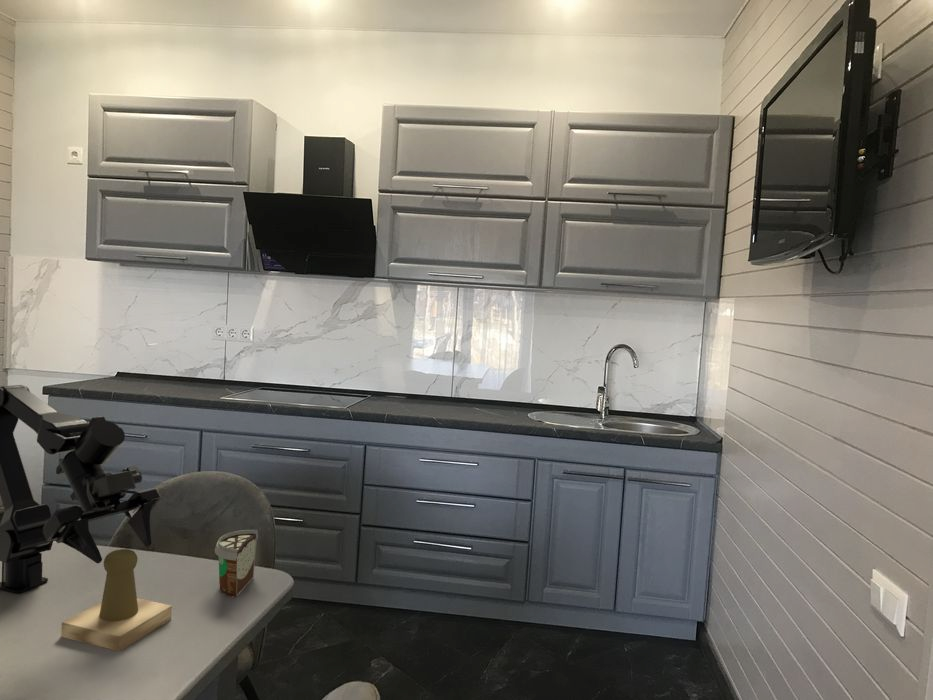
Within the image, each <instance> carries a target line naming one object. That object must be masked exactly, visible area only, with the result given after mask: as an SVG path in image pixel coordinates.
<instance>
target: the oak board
mask: <svg viewBox="0 0 933 700" xmlns="http://www.w3.org/2000/svg"><path fill="white" fill-rule="evenodd" d="M137 603H138V613H137V614H136V615H134V616H133V617H131V618H128V619H125V620H121V621H105V620H102V619H101V618H100V617H99V615H100V609H101V604H102V601H100V602H98V603H97V604H95V605H93V606H91V607H89V608H87V609H85V610H82V611H81V612H79V613H77V614H75V615H73V616H71V617H69V618H67V619H65V620H64V621H62V622H61V633H60V634H61V635H60V637H61V638H65V639H69V640H73V641H78V642H82V643H85V644H89V645H93V644H94V645H93V646H98V647H101V648H106V649H109V650H113V651H117V652H121V651H122V650H123V649H125V648H127V647H129V646H131V645H132V644H134V643H135V642H137V641H138V640H140V639H142V637H145V636H146V635H148V634H149V633H151V632H153V631H155V630H156V629H158V628H159V627H161V626H162V625H164V624H165V623H167V622H169V621H170V620H172V609H173V608H172V607H173V605H171V604H167V603H161V602H156V601H152V600H148V599H142V598H140V597H139V598H138V597H137ZM144 635H145V636H144ZM139 638H140V639H139ZM136 640H137V641H136ZM131 643H132V644H131ZM128 645H129V646H128ZM126 646H127V647H126Z"/></svg>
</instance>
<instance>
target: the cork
mask: <svg viewBox="0 0 933 700" xmlns="http://www.w3.org/2000/svg"><path fill="white" fill-rule="evenodd" d="M137 564H138V555H137V554H136V552H135V551H134V550H132V549H128V548H127V549H126V548H124V549H123V548H122V549H116V550H113V551H110V552H108V554H106V556H105V557H104V560H103V568H104V571H105V572H106V575H105V582H104V588H103V593H102V597H101V602H102V604H101V609H100V615H99V617H100V618H101V619H102V620H105V621H121V620H125V619H128V618H131V617H133V616H134V615H136V614H137V613H138V603H137V598H138V596H137V587H136V580H135V579H136V578H135V572H134V571H135V570H134V569H135V568H136V567H137Z"/></svg>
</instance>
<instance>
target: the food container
mask: <svg viewBox="0 0 933 700" xmlns="http://www.w3.org/2000/svg"><path fill="white" fill-rule="evenodd" d="M258 534H259V533H258V530H257V529H244V530H243V529H242V530H235V531H231V532H228V533H225V534H224V535H221V537H219V539H218V540H217V542H216V545H215V548H214V553H215V554H216V555H217V557H218V575H219V577H218V580H219V581H218V582H219V592H220V593H222V594H223V595H225V594H226V595H225V596H227V597H232V596H234V598H237V597H238V596H239V595H240V594H241V593H240V592H243V591H244V589H245V588H246V587H247V586H248V585H249V584H250V582H251V581H252V580H253V579H254V578H255V577H254V575H255V566H256V565H255V563H256V551H257V540H258V539H259V537H258V536H259V535H258ZM253 577H254V578H253ZM252 578H253V579H252ZM251 579H252V580H251ZM250 580H251V581H250ZM247 584H248V585H247ZM246 585H247V586H246ZM245 586H246V587H245ZM239 593H240V594H239ZM238 594H239V595H238Z"/></svg>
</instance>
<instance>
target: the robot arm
mask: <svg viewBox="0 0 933 700" xmlns="http://www.w3.org/2000/svg"><path fill="white" fill-rule="evenodd" d="M19 420H20V421H21V422H23V424H24V425H27V427H29V428H30V429H31V430H33V431H34V432H35V433H36V434H37V436H36V442H37V444H39V446H40V447H41V449H43V450H44V451H45V452H46V454H49V455H56V454H63V453H64V454H65V453H66V454H65V456H63V458H60V459H59V461H58V465H57V466H56V468H55V474H56V475H61V474H64V476H65V478H66V480H67V482H68V484H69V486H70V488H71V490H72V493H71V494H70V496H69V497H70V499H71V501H72V502H73V501H77V502H78V504H79V506H78V505H71V506H68V507H64V508H60V509H56V510H55V511H54V512H53V513H51V510H50V507H49V506H48V504H46V503H43V504H40V503H39V502H37V501H36V500H35V499H34V495H33V493H32V489H31V486H30V482H29V480H28V477H27V474H26V469H25V467H24V465H23V460H22V458H21V454H20V451H19V448H18V446H17V442H16V439H15V435H14V433H15V429H16V427H17V425H18V422H19ZM125 435H126V434H125V432H124V429H123V428H122V427H120V426H118V424H116V423H114V422H113V421H110V420H109V421H108V420H106V418H105V416H102V415H101V416H94V417H92V418H91V419H90V420H89V423H88V422H87V421H86V420H85V419H83V418H81V417H78V416H76V415H72V414H65V413H61V412H58V411H57V410H55V409H54V408H53V407H51V406H50V405H48V404H47V403H46V402H45V401H43V400H42V399H40V398H39V397H38V396H36V395H35V394H33V392H31V390H30V388H29V387H28V386H26V385H23V384H15V385H2V386H0V499H1V503H2V505H3V509H4V512H3V516H2V518H1V520H0V562H1V581H0V590H3V591H6V592H9V593H10V592H11V593H15V594H20V593H23V592H26V591H27V590H28V591H29V590H31V589H33V588H36V587H37V586H39V585H43V584H44V583H47V582H48V581H49V578H48V577H44V576H43V560H42V553H43V552H46V551H51V550H52V547H53V542H54V541H56V543H57V544H64V545H66V546H68V547H70V548H72V549H74V550H76V551H77V552H79V553H81V554H82V555H83V556H85V557H86V558H88V559H90V560H91V561H92V562H94V563H96V564H100V563H101V562H102V561H103V557H102V554H101V553H100V552H101V551H100V550H99V548H98V545H97V544H96V542H95V540H94V537H93V536H92V534H91V532H90V530H89V529H90V527H89V522H93V521H97V520H100V519H104V518H108V517H112V516H116V515H118V514H123V513H124V514H125V517H126V518H129V519H128V521H127V523H128V525H129V526H130V528H131V529H132V530H133V532H134V534H135V535H137V536H136V537H138V539H139V540H140V542H141V543H142V544H143V545H144V546H145V547H146V548H149V547H151V546H152V533H151V513H152V510H153V509H154V508H155V507H156V506H157V504H158V503H159V501H160V500H162V497H161V495H160V493H159V491H158V489H156V488H154V487H149V488H145V489H141V490H136V491H134V492H133V494H131V496H130V497H129V498H128V499H127V500H124V501H120V500H121V499H123V498H124V497H125V496H126V495H127V494H126V491H127V492H128V491H129V490H131V489H132V490H134V489H136V488H137V486H136V485H137V484H140V483H141V482H142V480H143V475H142V472H141V471H140V469H139V468H138V466H137V465H132V466H127V467H126V468H123V469H122V471H121V472H117V473H111V472H106V471H105V469H104V467H103V464H106V462H108V461H109V460H110V458H111V457H112V456H113V455H114V453H115V452H116V451H117V450H118V449H119V447H120V446H121V445H122V443H124V441H125V438H126V437H125Z"/></svg>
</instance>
